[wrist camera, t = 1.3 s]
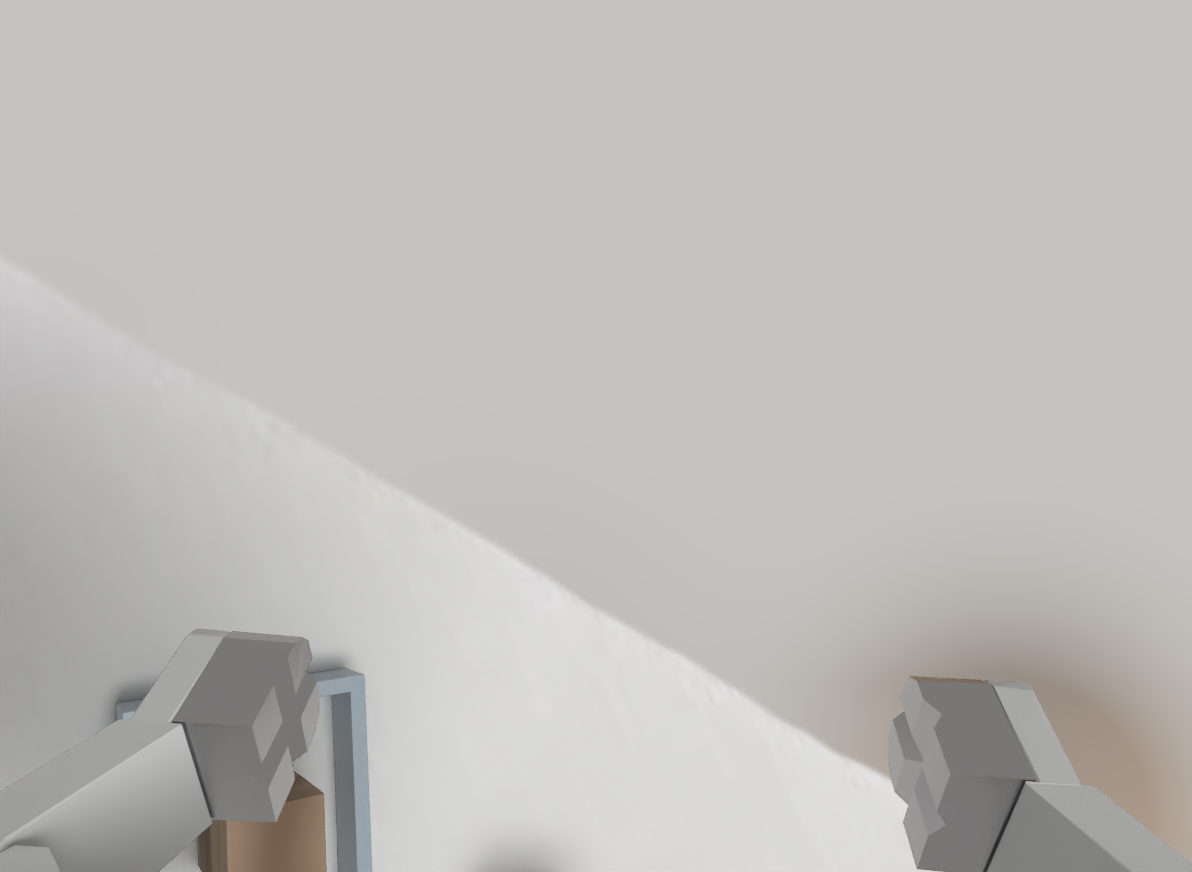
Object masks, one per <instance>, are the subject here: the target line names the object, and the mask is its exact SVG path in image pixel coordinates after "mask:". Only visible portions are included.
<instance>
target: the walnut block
mask: <svg viewBox="0 0 1192 872" xmlns="http://www.w3.org/2000/svg"><path fill="white" fill-rule="evenodd" d="M293 771H294V770H293ZM294 776H295V780H294V783H293V785H292V787H291V790H290V792H289V794H288V796H287V799H286V801H285V803H284V806H283V808H282V810H281V813H280V815H279V817H278V819H277V822H257V821H234V820H212V824H211V825H210V826H209V827H208V828H207V829H205V830H204V831H203V832H202V833H201V834H200V835H199V836H198V866H199V868H200V869H201V871H202V872H327V869H326V840H325V811H324V793H323V792H321V791H320V790H319V789H317V788H316V787H315V786H313V785H312V784H311V783H309V782H308V781H307V780H306V779H304V778H303V777H302V776H300V775H299V774H298V773H296V772H295V771H294Z"/></svg>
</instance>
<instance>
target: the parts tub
mask: <svg viewBox="0 0 1192 872" xmlns="http://www.w3.org/2000/svg"><path fill="white" fill-rule="evenodd" d="M309 675H310V676H311V677H312V678H313V679H315V680H316V681H317V685H318V691H319V697H322V696H328V695H332V709H333V737H334V765H335V793H336V821H337V849H338V872H372V855H371V829H370V804H369V779H368V754H367V728H366V703H365V678H364V674H361V673H358V672H355V671H352V670H349V669H346V668H342V669H335V670H329V671H322V672H316V673H309ZM143 700H144V699H140V700H133V701H127V702H120V703H116V721H117V720H119V719H120V720H130V719H131V717H132V716H133V714H134V713H135V711H136V710H137V708H138V707H139V705H140V704H141V702H142V701H143Z"/></svg>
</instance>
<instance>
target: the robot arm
mask: <svg viewBox="0 0 1192 872" xmlns="http://www.w3.org/2000/svg"><path fill="white" fill-rule="evenodd" d="M311 660H312V654H311V650H310V646H309V642H308V640H306V639H304V638H302V637H292V636H280V635H269V634H258V633H247V632H236V631H233V632H227V631H216V630H205V629H196V630H195V631H193V632H192V633H190V634H189V635H188V636H187V637H186V638H185V639H184V641H183V642H182V644H181V645H180V647H179V648H178V650H177V651H176V653H175V654H174V655H173V657H172V658H171V660H170V661H169V663H168V664H167V666H166V667H165V669H164V670H163V672H162V673H161V675H160V676H159V677H158V679H157V680H156V682H155V683H154V685H153V686H152V688H151V689H150V691H149V692H148V694H147V695H146V697H145V698H144V700H143V701H142V702H141V704H140V705H139V707H138V708H137V710H136V711H135V713H134V714H133V716H132V717H131V719H130V720H120V719H119V720H117V721H115V722H114V723H112V724H110V725H109V726H107V727H105V728H104V729H102V730H100V731H99V732H97V733H96V734H94V735H92V736H91V737H89V738H87V739H86V740H84V741H82V742H81V743H79V744H77V745H76V746H74V747H72V748H71V749H69V750H68V751H66V752H64V753H63V754H61V755H59V756H58V757H56V758H54V759H53V760H51V761H49V762H48V763H46V764H45V765H43V766H41V767H40V768H38V769H36V770H35V771H33V772H31V773H30V774H28V775H26V776H25V777H23V778H21V779H20V780H18V781H17V782H15V783H13V784H12V785H10V786H8V787H7V788H5V789H3V790H2V791H0V872H159V871H160V870H161V869H162V868H163V867H164V866H166V865H167V864H168V863H169V862H170V861H171V860H172V859H173V858H174V857H176V856H177V855H178V854H179V853H180V852H181V851H182V850H183V849H184V848H186V847H187V846H188V845H189V844H190V843H191V842H192V841H193V840H194V839H196V838H197V837H198V836H199V835H200V834H201V833H202V832H203V831H204V830H205V829H207V828H208V827H209V826H210V825H211V824H212V820H234V821H257V822H277V819H278V817H279V815H280V813H281V810H282V808H283V806H284V803H285V801H286V799H287V796H288V794H289V792H290V790H291V787H292V785H293V783H294V780H295V776H294V771H293V767H292V762H293V761H295V760H296V759H297V758H299V757H300V756H301V755H302V754H304V753H305V752H306V751H307V750H308V748H309V745H310V743H311V740H312V738H313V735H314V733H315V728H316V724H317V719H318V714H319V691H318V685H317V681H316V680H315V679H313V678H312V677H311V676H310V675H309V674H308V673H307V672H306V671H307V669H308V666H309V664H310V662H311ZM900 699H901V702H902V706H903V708H904V712H903V713H901V714H900V715H899V716H897V717H896V718H895V719H893V721H892V725H891V729H890V733H889V738H888V763H889V771H890V776H891V780H892V784H893V788H894V791H895V793H896V794H897V795H898V796H899V797H901V798H902V799H903V800H904V801H905V802H906V803H907V804H908V808H907V811H906V814H905V817H904V821H903V823H904V827H905V830H906V834H907V837H908V841H909V844H910V847H911V851H912V854H913V858H914V861H915V865H916V868H917V869H922V870H932V871H942V872H1192V864H1191V863H1190V862H1189V861H1187V860H1186V859H1185V858H1184V857H1182V856H1181V855H1180V854H1179V853H1177V852H1176V851H1175V850H1173V849H1172V848H1171V847H1170V846H1169V845H1167V844H1166V843H1165V842H1164V841H1162V840H1161V839H1160V838H1158V837H1157V836H1156V835H1155V834H1153V833H1152V832H1151V831H1149V830H1148V829H1147V828H1146V827H1144V826H1143V825H1142V824H1141V823H1139V822H1138V821H1137V820H1136V819H1134V818H1133V817H1132V816H1131V815H1129V814H1128V813H1127V812H1126V811H1124V810H1123V809H1122V808H1120V807H1119V806H1118V805H1117V804H1115V803H1114V802H1113V801H1112V800H1110V799H1109V798H1108V797H1107V796H1105V795H1104V794H1103V793H1102V792H1100V791H1099V790H1098V789H1096V788H1095V787H1094V786H1084V785H1081V783H1080V781H1079V779H1078V777H1077V775H1076V773H1075V771H1074V769H1073V767H1072V766H1071V763H1070V761H1069V759H1068V758H1067V756H1066V754H1065V752H1064V750H1063V748H1062V746H1061V744H1060V742H1059V740H1058V738H1057V736H1056V734H1055V732H1054V731H1053V729H1052V727H1051V725H1050V723H1049V721H1048V719H1047V717H1046V715H1045V713H1044V711H1043V709H1042V707H1041V705H1040V703H1039V701H1038V699H1037V698H1036V696H1035V694H1034V692H1033V690H1032V688H1031V687H1030V686H1028V685H1027V684H1026V683H1025V682H1013V681H994V680H985V681H983V680H974V679H956V678H937V677H919V676H909V677H908V678H907V679H906V681H905V682H904V684H903V687H902V691H901V694H900Z"/></svg>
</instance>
